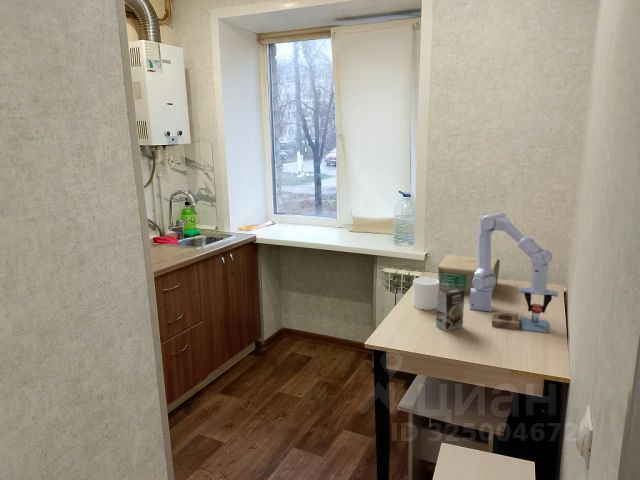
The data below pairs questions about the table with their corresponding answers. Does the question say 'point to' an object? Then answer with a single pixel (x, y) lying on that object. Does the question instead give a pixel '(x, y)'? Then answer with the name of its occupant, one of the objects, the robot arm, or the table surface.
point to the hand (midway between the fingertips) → (536, 311)
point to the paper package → (461, 272)
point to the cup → (425, 293)
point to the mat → (535, 325)
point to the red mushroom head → (536, 312)
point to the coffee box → (450, 308)
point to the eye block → (505, 320)
